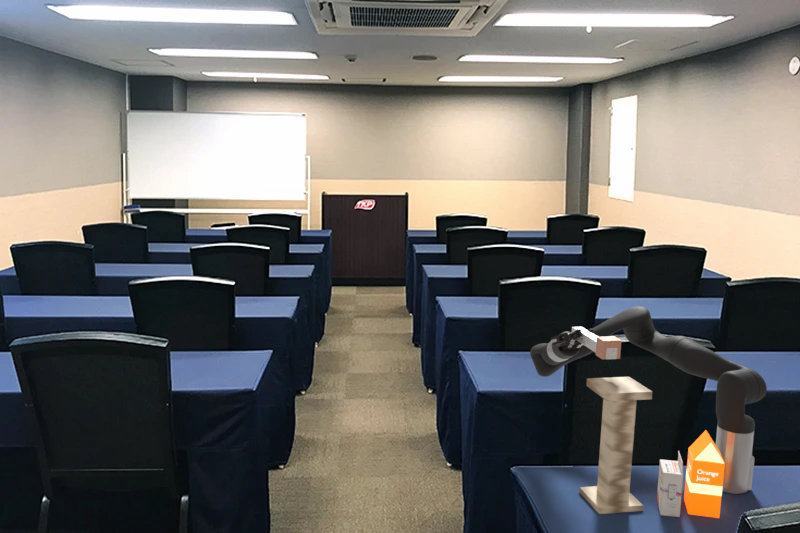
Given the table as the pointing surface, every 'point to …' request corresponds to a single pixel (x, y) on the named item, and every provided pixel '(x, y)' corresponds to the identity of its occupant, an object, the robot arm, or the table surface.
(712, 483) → the orange juice
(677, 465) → the ink cartridge box
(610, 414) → the birch stand
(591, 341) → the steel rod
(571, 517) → the table surface
